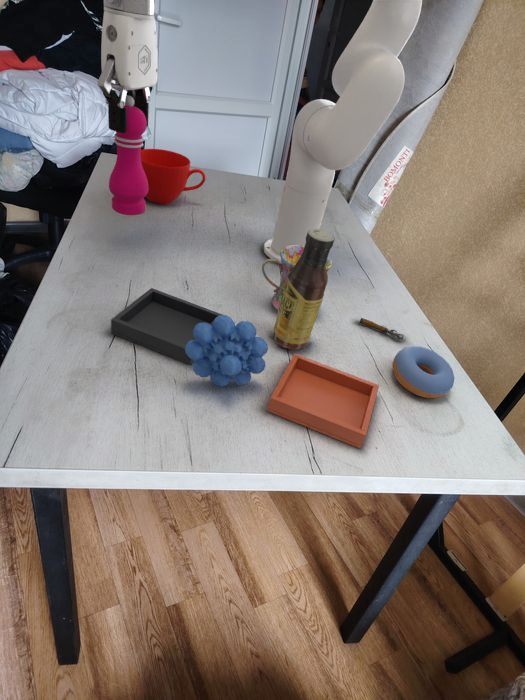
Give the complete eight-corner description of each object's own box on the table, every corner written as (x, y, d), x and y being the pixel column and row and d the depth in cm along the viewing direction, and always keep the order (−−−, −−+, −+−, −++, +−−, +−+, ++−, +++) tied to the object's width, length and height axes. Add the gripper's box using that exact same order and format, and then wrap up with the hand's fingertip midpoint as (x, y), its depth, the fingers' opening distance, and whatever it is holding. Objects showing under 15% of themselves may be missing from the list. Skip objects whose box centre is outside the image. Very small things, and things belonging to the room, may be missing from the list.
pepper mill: (138, 219, 90) (140, 103, 78) (102, 210, 90) (98, 93, 78) (153, 207, 96) (157, 97, 84) (119, 198, 96) (118, 88, 84)
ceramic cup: (199, 216, 115) (203, 174, 109) (127, 203, 113) (128, 159, 107) (204, 197, 125) (209, 158, 119) (139, 185, 123) (141, 144, 117)
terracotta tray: (291, 365, 76) (294, 353, 74) (373, 397, 73) (379, 385, 72) (266, 410, 66) (270, 397, 65) (359, 448, 64) (366, 435, 63)
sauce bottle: (269, 328, 83) (296, 220, 71) (304, 331, 84) (336, 226, 72) (273, 351, 78) (302, 239, 66) (310, 355, 79) (345, 245, 67)
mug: (312, 297, 94) (326, 248, 88) (320, 324, 87) (337, 273, 80) (252, 290, 92) (262, 239, 86) (256, 317, 85) (267, 264, 78)
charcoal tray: (150, 300, 82) (151, 287, 81) (221, 327, 80) (224, 314, 79) (110, 333, 73) (110, 319, 72) (190, 364, 71) (191, 351, 70)
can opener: (358, 323, 89) (360, 318, 89) (362, 318, 91) (364, 313, 90) (403, 344, 87) (405, 339, 86) (406, 339, 88) (409, 334, 88)
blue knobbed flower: (183, 406, 64) (192, 335, 57) (179, 373, 69) (187, 303, 62) (266, 406, 67) (284, 338, 60) (257, 374, 72) (273, 308, 65)
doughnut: (459, 401, 77) (472, 379, 74) (407, 405, 73) (418, 383, 71) (426, 361, 84) (437, 340, 81) (377, 363, 81) (387, 342, 78)
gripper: (118, 6, 66) (119, 142, 77) (178, 10, 79) (172, 125, 90) (71, -5, 67) (79, 130, 78) (138, 1, 81) (137, 115, 91)
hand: (129, 127), depth 84 cm, fingers closed on pepper mill, 6 cm apart
